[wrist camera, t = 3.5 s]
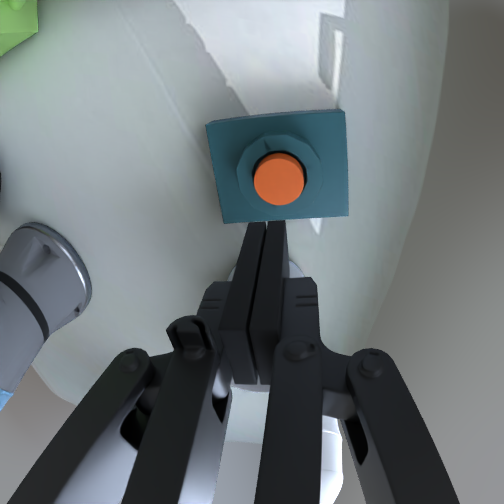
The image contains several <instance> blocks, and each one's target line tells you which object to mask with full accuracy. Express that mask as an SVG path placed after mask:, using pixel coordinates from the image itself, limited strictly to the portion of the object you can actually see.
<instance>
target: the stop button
mask: <svg viewBox="0 0 504 504" xmlns="http://www.w3.org/2000/svg"><path fill="white" fill-rule="evenodd" d="M254 186H255V190H256V192H257V193H258V195H259V196H260V197H261V198H262V199H263V200H264V201H266V202H268V203H270V204H274V205H285V204H289V203H291V202H293V201H294V200H296V199H297V198H298V197H299V195H300V194H301V192H302V190H303V186H304V178H303V170H302V167H301V165H300V164H299V162H298V161H297V160H296V159H295V158H294V157H292V156H290V155H288V154H284V153H274V154H271V155H268V156H267V157H265V158H264V159H263V160H262V161H261V162H260V163H259V165H258V167H257V170H256V173H255V176H254Z"/></svg>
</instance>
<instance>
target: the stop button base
mask: <svg viewBox="0 0 504 504" xmlns="http://www.w3.org/2000/svg"><path fill="white" fill-rule="evenodd" d="M205 126H206V131H207V137H208V142H209V148H210V153H211V159H212V164H213V170H214V175H215V180H216V186H217V191H218V196H219V201H220V206H221V212H222V217H223V222H224V224H227V223H241V222H255V221H270V220H286V219H303V218H321V217H340V216H348V160H347V139H346V122H345V112H344V111H343V110H341V109H326V110H307V111H292V112H280V113H269V114H260V115H251V116H243V117H235V118H228V119H221V120H214V121H211V122H209V123H208V124H206V125H205ZM274 153H284V154H288V155H290V156H292V157H294V158H295V159H296V160H297V161H298V162H299V164H300V165H301V167H302V170H303V178H304V186H303V190H302V192H301V194H300V195H299V197H298V198H297V199H296V200H294V201H293V202H291V203H289V204H285V205H274V204H270V203H268V202H266V201H264V200H263V199H262V198H261V197H260V196H259V195H258V193H257V192H256V190H255V186H254V176H255V173H256V170H257V167H258V165H259V163H260V162H261V161H262V160H263V159H264V158H265V157H267V156H268V155H271V154H274Z"/></svg>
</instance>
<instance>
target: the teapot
mask: <svg viewBox="0 0 504 504" xmlns="http://www.w3.org/2000/svg"><path fill="white" fill-rule="evenodd" d="M37 32H38V14H37V0H0V57H1V56H2V55H4V54H5V53H6V52H8V51H9V50H11V49H12V48H14V47H15V46H17V45H18V44H20V43H21V42H23V41H24V40H26V39H27V38H29V37H30V36H32V35H34V34H35V33H37Z"/></svg>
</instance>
